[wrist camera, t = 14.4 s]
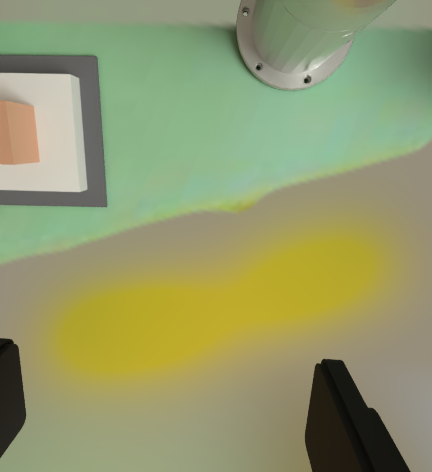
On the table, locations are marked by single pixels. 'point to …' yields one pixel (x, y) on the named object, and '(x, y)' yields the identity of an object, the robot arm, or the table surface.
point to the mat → (92, 129)
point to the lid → (41, 133)
